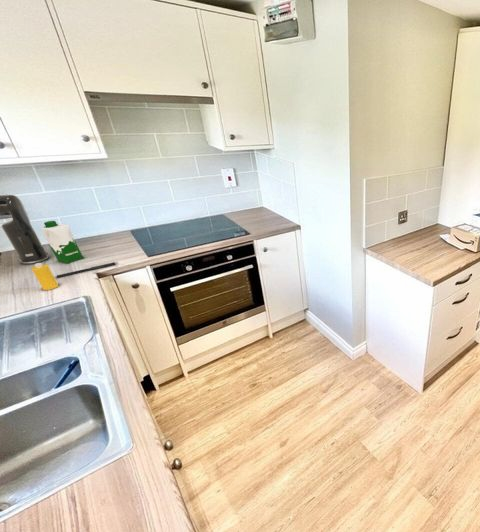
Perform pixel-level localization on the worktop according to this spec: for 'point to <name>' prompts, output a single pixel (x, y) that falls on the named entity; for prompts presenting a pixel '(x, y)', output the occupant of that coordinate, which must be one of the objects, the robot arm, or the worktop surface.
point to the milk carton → (61, 242)
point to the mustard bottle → (44, 276)
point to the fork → (87, 269)
